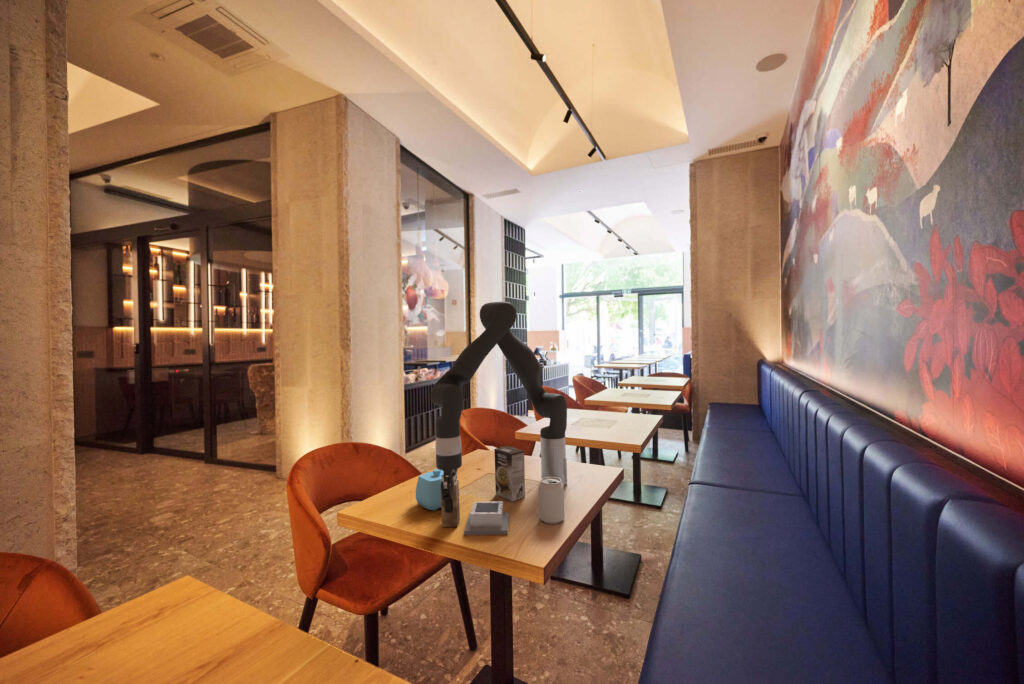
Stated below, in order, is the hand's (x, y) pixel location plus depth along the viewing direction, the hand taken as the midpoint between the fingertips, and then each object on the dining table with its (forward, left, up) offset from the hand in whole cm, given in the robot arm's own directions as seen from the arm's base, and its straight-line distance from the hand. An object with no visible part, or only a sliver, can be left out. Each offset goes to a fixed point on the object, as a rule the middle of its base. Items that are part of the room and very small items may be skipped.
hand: (450, 508), depth 121 cm
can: (-30, -2, -5) cm, 30 cm away
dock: (-11, +1, -5) cm, 12 cm away
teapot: (+6, -14, -5) cm, 16 cm away
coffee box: (-17, -21, -5) cm, 27 cm away
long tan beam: (0, 0, -4) cm, 4 cm away
